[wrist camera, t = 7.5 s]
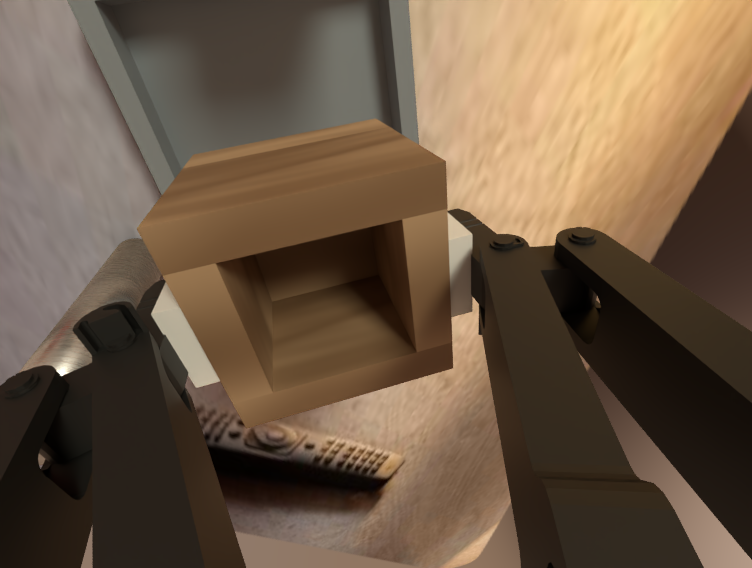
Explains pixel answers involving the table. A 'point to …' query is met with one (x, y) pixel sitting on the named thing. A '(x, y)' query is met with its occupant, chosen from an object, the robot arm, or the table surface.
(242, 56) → the tray
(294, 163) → the bored block
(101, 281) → the pin
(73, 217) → the table surface
